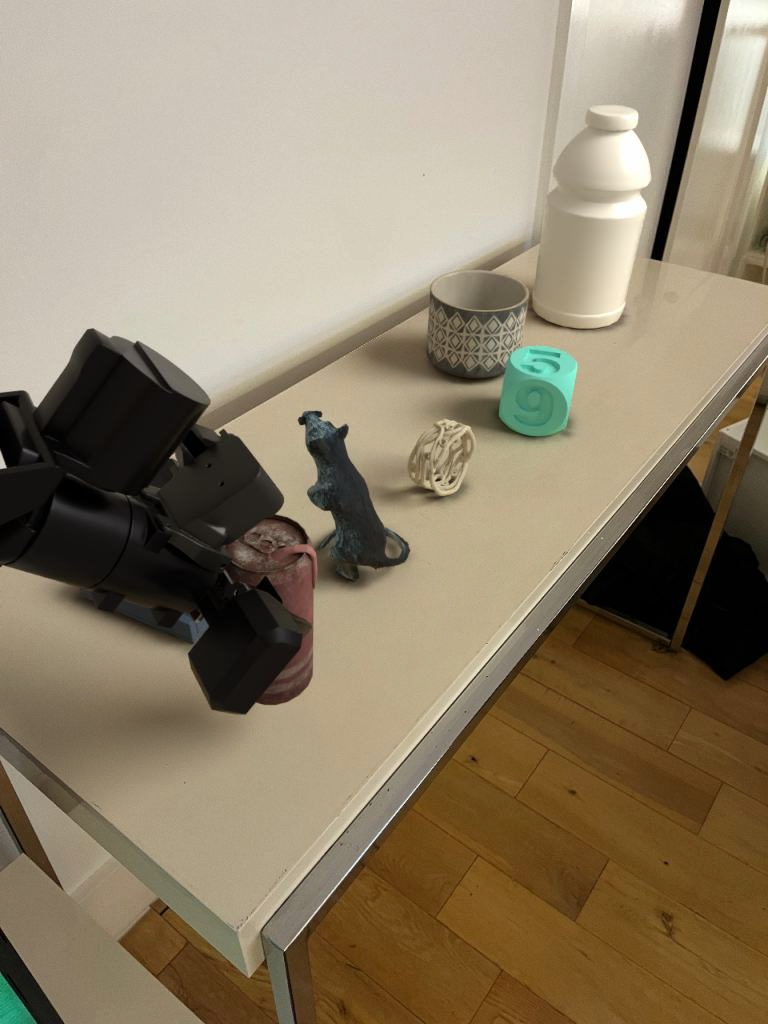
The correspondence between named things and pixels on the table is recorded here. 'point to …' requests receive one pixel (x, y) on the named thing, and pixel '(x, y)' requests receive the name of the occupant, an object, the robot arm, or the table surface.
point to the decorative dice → (537, 390)
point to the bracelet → (455, 433)
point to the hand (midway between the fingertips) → (291, 605)
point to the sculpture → (346, 501)
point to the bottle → (593, 222)
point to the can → (281, 589)
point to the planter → (475, 322)
